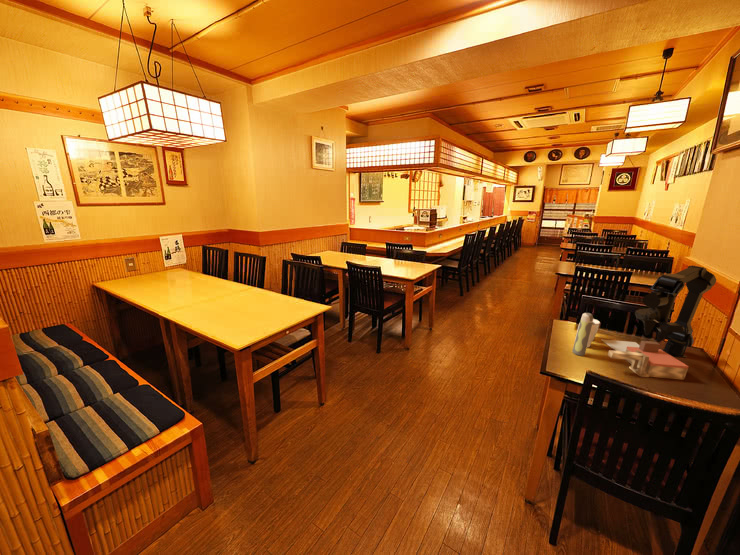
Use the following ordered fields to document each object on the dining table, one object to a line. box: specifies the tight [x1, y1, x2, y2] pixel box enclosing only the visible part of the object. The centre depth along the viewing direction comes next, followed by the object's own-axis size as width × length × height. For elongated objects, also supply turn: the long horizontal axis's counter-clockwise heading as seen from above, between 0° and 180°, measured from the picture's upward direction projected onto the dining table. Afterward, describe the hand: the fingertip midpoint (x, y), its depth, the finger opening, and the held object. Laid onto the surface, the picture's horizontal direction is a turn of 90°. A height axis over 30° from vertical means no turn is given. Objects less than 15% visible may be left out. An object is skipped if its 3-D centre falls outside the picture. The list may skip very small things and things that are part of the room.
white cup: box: [591, 318, 601, 342], centre depth 156 cm, size 8×8×10 cm
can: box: [574, 322, 595, 348], centre depth 149 cm, size 6×6×12 cm
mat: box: [601, 339, 640, 352], centre depth 147 cm, size 16×16×1 cm
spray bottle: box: [572, 312, 594, 357], centre depth 139 cm, size 5×5×20 cm
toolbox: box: [624, 349, 689, 380], centre depth 130 cm, size 17×15×9 cm
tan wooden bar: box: [607, 349, 646, 360], centre depth 126 cm, size 13×2×2 cm, turn 84°
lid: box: [626, 340, 689, 370], centre depth 129 cm, size 14×14×5 cm
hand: (652, 338), depth 132 cm, fingers open, 6 cm apart
